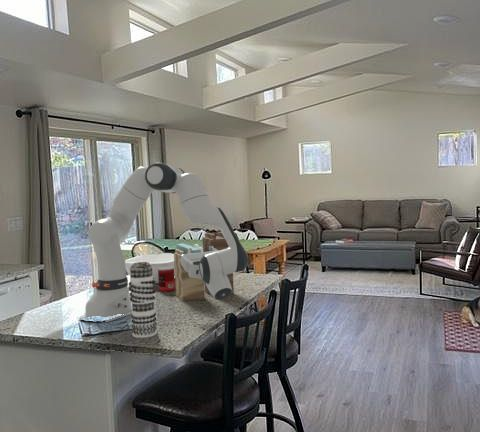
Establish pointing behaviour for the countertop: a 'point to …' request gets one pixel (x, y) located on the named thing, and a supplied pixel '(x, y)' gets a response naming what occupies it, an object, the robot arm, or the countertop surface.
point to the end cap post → (218, 244)
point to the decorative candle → (142, 300)
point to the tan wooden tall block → (186, 281)
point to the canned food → (166, 279)
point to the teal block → (185, 248)
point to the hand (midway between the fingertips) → (200, 248)
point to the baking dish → (153, 263)
